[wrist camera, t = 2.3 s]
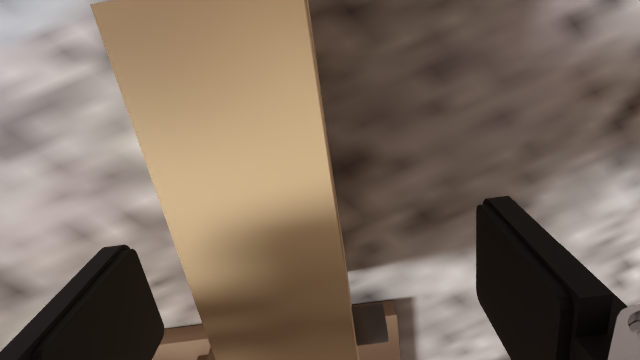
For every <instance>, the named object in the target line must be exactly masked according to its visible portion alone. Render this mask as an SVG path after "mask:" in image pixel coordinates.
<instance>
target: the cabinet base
mask: <svg viewBox="0 0 640 360" xmlns="http://www.w3.org/2000/svg"><path fill="white" fill-rule="evenodd" d="M375 303H382V304H383V308H384V313H385V318H386V324H387V331H388V342H384V343H376V344H368V345H360V346H357V348H358V355H359V360H401V357H400V346H399V334H398V322H397V314H396V310H395V306H394V303H393V300H389V301H381V302H374V303H366V304H358V305H352V306H359V305H367V304H375ZM152 360H215V357H214V354H213V352H212V349H211V346H210V343H209V340H208V337H207V335H206V332H205V329H204V326H203V324H202V325H194V326H186V327H178V328H170V329H164V336H163V339H162V341H161V343H160V345H159V347H158V349H157V351H156V353H155V355H154V357H153V359H152Z"/></svg>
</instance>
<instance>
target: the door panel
mask: <svg viewBox="0 0 640 360" xmlns="http://www.w3.org/2000/svg"><path fill="white" fill-rule="evenodd" d="M90 6H91V8H92V11H93V14H94V17H95V20H96V23H97V25H98V28H99V31H100V34H101V37H102V40H103V42H104V45H105V48H106V51H107V54H108V57H109V60H110V62H111V65H112V68H113V71H114V74H115V77H116V79H117V82H118V85H119V88H120V91H121V94H122V96H123V99H124V102H125V105H126V108H127V111H128V113H129V116H130V119H131V122H132V125H133V128H134V130H135V133H136V136H137V139H138V142H139V145H140V147H141V150H142V153H143V156H144V159H145V162H146V164H147V167H148V170H149V173H150V176H151V179H152V181H153V184H154V187H155V190H156V193H157V196H158V198H159V201H160V204H161V207H162V210H163V213H164V215H165V218H166V221H167V224H168V227H169V230H170V232H171V235H172V238H173V241H174V244H175V247H176V250H177V252H178V255H179V258H180V261H181V264H182V267H183V269H184V272H185V275H186V278H187V281H188V284H189V286H190V289H191V292H192V295H193V298H194V301H195V303H196V306H197V309H198V312H199V315H200V318H201V320H202V323H203V326H204V329H205V332H206V335H207V337H208V340H209V343H210V346H211V349H212V352H213V354H214V357H215V360H359V355H358V348H357V346H360V345H368V344H376V343H384V342H388V331H387V324H386V318H385V313H384V308H383V304H382V303H375V304H367V305H359V306H352V303H351V295H350V288H349V281H348V273H347V266H346V259H345V252H344V245H343V239H342V232H341V225H340V218H339V211H338V204H337V197H336V190H335V183H334V176H333V169H332V163H331V156H330V149H329V142H328V135H327V128H326V121H325V114H324V107H323V100H322V94H321V87H320V80H319V73H318V66H317V59H316V52H315V45H314V38H313V31H312V24H311V18H310V11H309V4H308V0H114V1H108V2H102V3H96V4H90Z"/></svg>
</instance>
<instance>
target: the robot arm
mask: <svg viewBox="0 0 640 360" xmlns="http://www.w3.org/2000/svg"><path fill="white" fill-rule="evenodd" d="M476 291H477V296H478V300H479V302H480V304H481V306H482V308H483V310H484V312H485V313H486V315H487V317H488V319H489V320H490V322H491V324H492V326H493V328H494V329H495V331H496V333H497V335H498V337H499V338H500V340H501V342H502V344H503V346H504V347H505V349H506V351H507V353H508V355H509V356H510V358H511V360H640V304H638V305H632V306H628V307H627V306H626V305H625V304H624V303H623V302H622V301H621V300H620V299H619V298H618V297H617V296H616V295H615V294H614V293H612V292H611V291H610V290H609V289H608V288H607V287H606V286H605V285H604V284H603V283H602V282H601V281H600V280H599V279H597V278H596V277H595V276H594V275H593V274H592V273H591V272H590V271H589V270H588V269H587V268H586V267H585V266H584V265H582V264H581V263H580V262H579V261H578V260H577V259H576V258H575V257H574V256H573V255H572V254H571V253H570V252H569V251H568V250H566V249H565V248H564V247H563V246H562V245H561V244H560V243H558V242H557V241H556V240H555V239H554V238H553V237H552V236H551V235H550V234H549V233H548V232H547V231H546V230H544V229H543V228H542V227H541V226H540V225H539V224H538V223H537V222H536V221H535V220H534V219H533V218H532V217H531V216H530V215H528V214H527V213H526V212H525V211H524V210H523V209H522V208H521V207H520V206H519V205H518V204H517V203H516V202H515V201H514V200H512V199H511V198H510V197H509V196H504V197H496V198H488V199H485V200H484V202H483V205H478V206H477V211H476ZM163 336H164V324H163V321H162V319H161V316H160V313H159V311H158V308H157V305H156V303H155V300H154V298H153V295H152V292H151V290H150V287H149V284H148V282H147V279H146V276H145V274H144V271H143V268H142V266H141V263H140V260H139V258H138V255H137V253H136V251H135V250H134V249H130V248H129V247H128V246H127V245H119V246H111V247H104V248H102V249H101V250H100V251H99V252H98V253H97V254H96V255H95V256H94V257H93V258H92V259H91V260H90V261H89V262H88V263H87V264H86V265H85V266H84V267H83V268H82V269H81V270H80V271H79V272H78V273H77V274H76V275H75V276H74V277H73V278H72V279H71V280H70V282H69V283H68V284H67V285H66V286H65V287H64V288H63V289H62V290H61V291H60V292H59V293H58V294H57V295H56V296H55V297H54V298H53V299H52V300H51V301H50V302H49V303H48V304H47V305H46V306H45V307H44V308H43V309H42V310H41V311H40V312H39V313H38V314H37V315H36V316H35V317H34V318H33V319H32V320H31V321H30V322H29V323H28V324H27V325H26V326H25V327H24V328H23V329H22V331H21V332H20V333H19V334H18V335H17V336H16V337H15V338H14V339H13V340H12V341H11V342H10V343H9V344H8V345H7V346H6V347H5V348H4V349H3V350H2V351H1V352H0V360H152V359H153V357H154V355H155V353H156V351H157V349H158V347H159V345H160V343H161V341H162V339H163Z"/></svg>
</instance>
